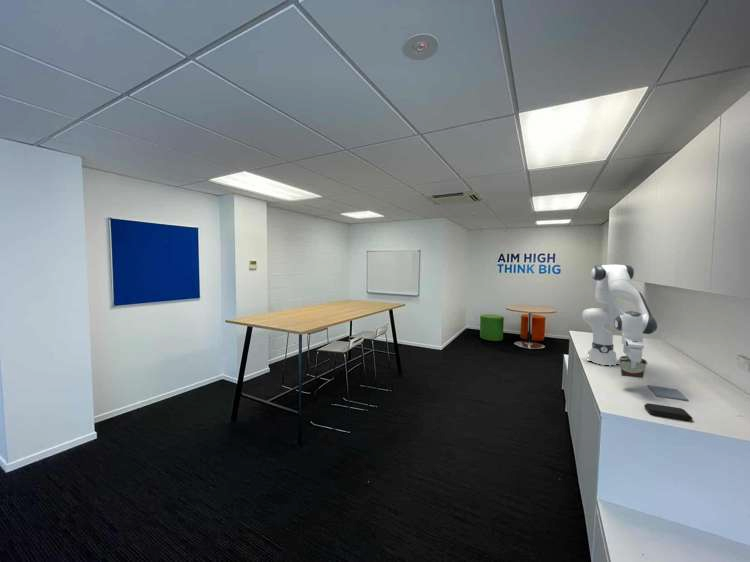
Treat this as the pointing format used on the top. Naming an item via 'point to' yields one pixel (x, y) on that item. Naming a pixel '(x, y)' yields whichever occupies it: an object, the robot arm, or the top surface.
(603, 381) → the top surface
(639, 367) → the food container
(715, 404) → the top surface
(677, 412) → the carrying case or bag
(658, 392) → the slate mat
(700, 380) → the top surface
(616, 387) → the top surface
